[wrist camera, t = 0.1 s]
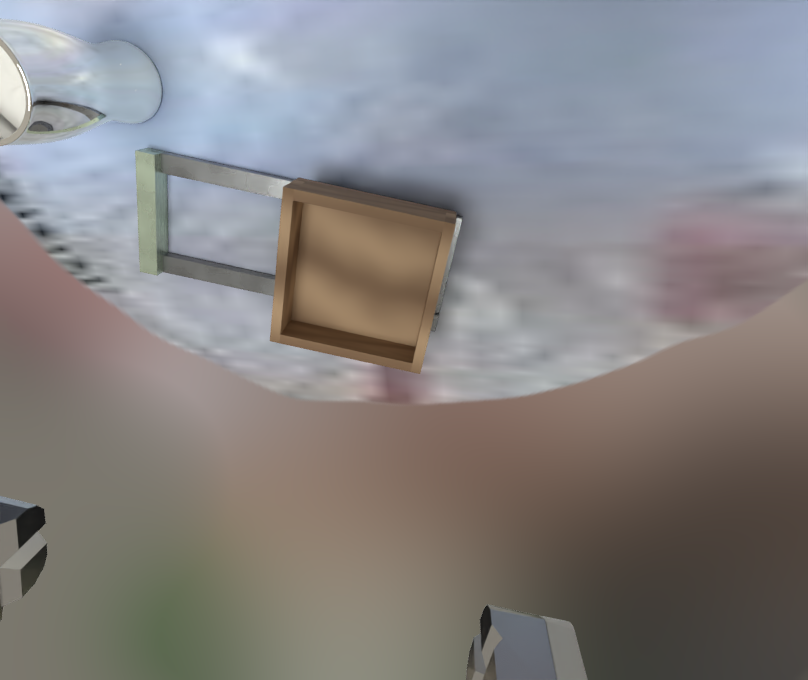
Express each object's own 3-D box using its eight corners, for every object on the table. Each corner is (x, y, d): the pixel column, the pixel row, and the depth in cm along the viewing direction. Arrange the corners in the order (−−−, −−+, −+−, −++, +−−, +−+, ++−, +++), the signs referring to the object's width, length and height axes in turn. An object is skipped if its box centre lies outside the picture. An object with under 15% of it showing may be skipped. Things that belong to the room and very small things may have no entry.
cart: (306, 173, 43) (283, 186, 38) (456, 205, 43) (455, 224, 38) (291, 311, 49) (269, 340, 43) (425, 340, 49) (420, 373, 43)
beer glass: (130, 146, 45) (-12, 174, 32) (67, 71, 43) (-113, 67, 30) (185, 95, 43) (58, 101, 29) (122, 13, 41) (-46, -20, 27)
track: (148, 147, 45) (135, 150, 43) (462, 216, 45) (462, 221, 43) (151, 264, 50) (139, 271, 48) (435, 326, 50) (434, 336, 48)
